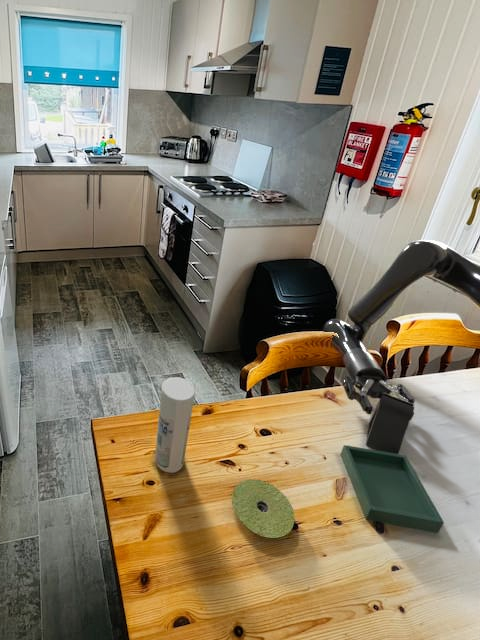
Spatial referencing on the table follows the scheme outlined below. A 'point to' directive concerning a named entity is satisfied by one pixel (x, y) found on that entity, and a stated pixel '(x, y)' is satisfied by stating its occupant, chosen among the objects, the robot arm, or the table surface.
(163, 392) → the spray can
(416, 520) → the tray
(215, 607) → the table surface
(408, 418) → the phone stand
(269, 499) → the green abrasive disc
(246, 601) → the table surface
